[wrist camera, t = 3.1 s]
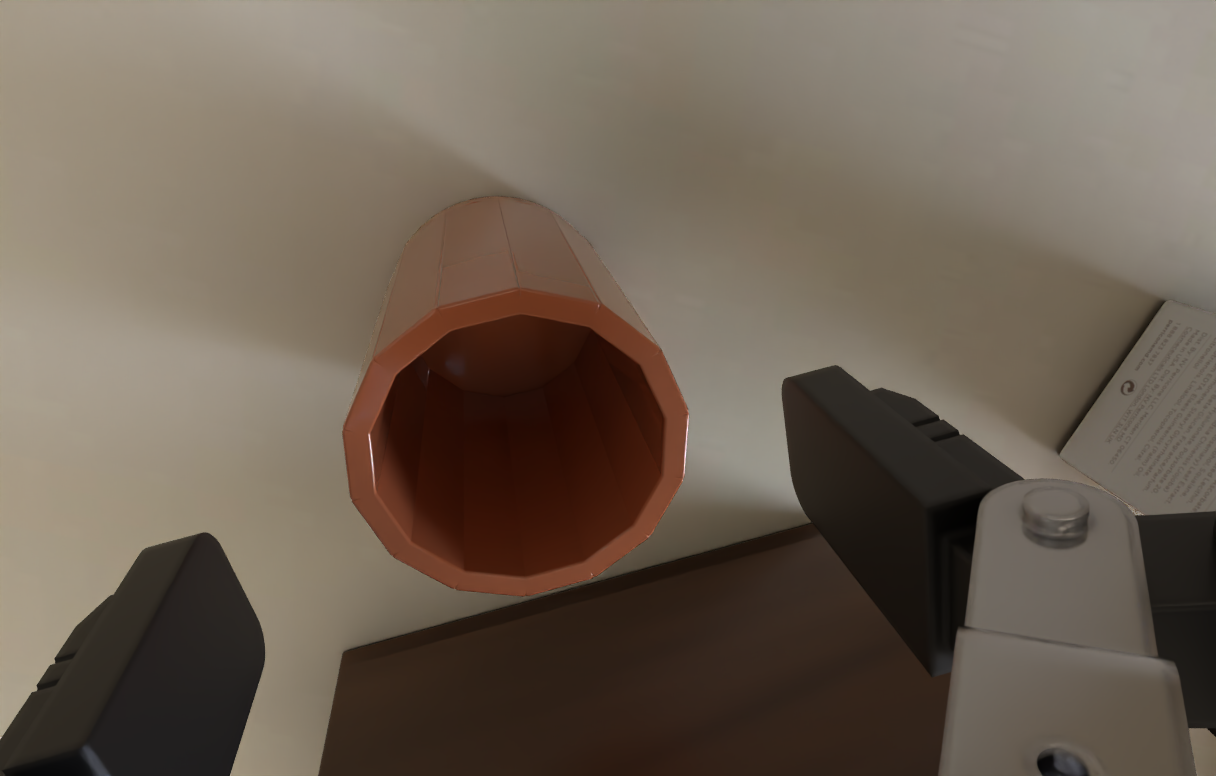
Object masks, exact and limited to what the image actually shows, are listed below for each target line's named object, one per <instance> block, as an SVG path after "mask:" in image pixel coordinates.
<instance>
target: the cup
mask: <svg viewBox="0 0 1216 776" xmlns="http://www.w3.org/2000/svg"><path fill="white" fill-rule="evenodd" d="M688 424H689V413H688V407H687V405H686V403H685V401H684V398H683V396H682V394H681V392H680V389H679V387H678V385H677V383H676V381H675V378H674V376H673V374H672V372H671V369H670V367H669V365H668V363H667V361H666V358H665V356H664V354H663V352H662V350H661V349H660V347H659V346H658V344H657V343H656V341H655V340H654V338H653V337H652V335H651V334H650V332H649V331H648V329H647V328H646V326H645V325H644V323H643V322H642V320H641V319H640V317H639V316H638V314H637V313H636V311H635V310H634V308H633V307H632V305H631V304H630V302H629V301H628V299H627V298H626V296H625V295H624V293H623V292H622V290H621V289H620V287H619V286H618V284H617V283H616V281H615V280H614V278H613V277H612V275H611V274H610V272H609V271H608V269H607V268H606V266H605V265H604V263H603V262H602V260H601V259H600V257H599V256H598V254H597V253H596V251H595V250H594V248H593V247H592V245H591V244H590V243H589V242H588V240H587V239H586V238H585V237H583V236H582V235H581V234H580V233H579V232H578V231H577V230H576V229H575V228H574V227H573V226H572V225H571V224H570V223H569V222H568V221H566V220H565V219H564V218H562V217H561V216H559V215H558V214H557V213H555V212H553V211H551V210H550V209H548V208H546V207H544V206H542V205H539V204H536V203H534V202H531V201H527V200H523V199H519V198H514V197H504V196H492V197H481V198H475V199H470V200H467V201H464V202H460V203H457V204H455V205H453V206H451V207H449V208H446V209H444V210H443V211H441V212H440V213H438V214H436V215H435V216H433V217H432V218H431V219H429V220H428V221H427V222H426V223H425V224H424V225H422V226H421V227H420V228H419V229H418V231H417V232H416V233H415V234H414V235H413V236H412V237H411V239H410V240H409V241H408V242H407V244H406V245H405V247H404V249H403V251H402V253H401V255H400V258H399V260H398V262H397V265H396V268H395V270H394V273H393V275H392V278H391V280H390V282H389V285H388V287H387V290H386V293H385V296H384V300H383V303H382V306H381V309H380V312H379V315H378V318H377V321H376V324H375V328H374V331H373V334H372V337H371V340H370V343H369V346H368V349H367V353H366V356H365V359H364V362H363V365H362V368H361V371H360V374H359V377H358V381H357V384H356V387H355V390H354V393H353V396H352V399H351V402H350V406H349V409H348V412H347V415H346V418H345V421H344V424H343V431H342V436H343V444H344V452H345V460H346V469H347V477H348V485H349V493H350V498H351V499H352V503H353V504H354V505H355V507H356V508H357V510H358V511H359V512H360V514H361V515H362V516H363V518H364V519H365V521H366V522H367V523H368V525H369V526H370V527H371V529H372V530H373V531H374V533H375V534H376V536H377V537H378V538H379V540H380V541H381V542H382V544H383V545H384V546H385V548H386V549H387V551H388V552H389V553H390V555H393V557H394V558H395V559H397V560H399V561H401V562H403V563H405V564H407V565H408V566H410V567H412V568H414V569H416V570H418V571H420V572H422V573H424V574H425V575H427V576H429V577H431V578H433V579H435V580H437V581H439V582H440V583H442V584H444V585H446V586H448V587H450V588H452V589H454V588H455V589H456V590H460V591H471V592H481V593H492V594H502V595H512V596H525V595H526V596H530V595H534V594H538V593H541V592H545V591H549V590H552V589H556V588H560V587H563V586H567V585H571V584H574V583H578V582H581V581H585V580H589V579H592V578H593V576H594V577H596V576H598V575H599V574H600V573H602V572H603V571H604V570H606V569H607V568H608V567H610V566H611V565H613V564H614V563H615V562H617V561H618V560H619V559H621V558H622V557H623V556H625V555H626V554H627V553H629V552H630V551H632V550H633V549H634V548H636V547H637V546H638V545H640V544H641V543H642V542H644V541H645V540H646V539H648V538H649V536H650V535H651V534H652V533H653V531H654V529H655V528H656V526H657V524H658V522H659V521H660V519H661V517H662V516H663V514H664V512H665V511H666V509H667V507H668V505H669V504H670V502H671V500H672V499H673V497H674V495H675V494H676V492H677V490H678V489H679V487H680V485H681V483H682V482H683V478H684V476H685V464H686V451H687V438H688Z"/></svg>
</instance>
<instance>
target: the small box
mask: <svg viewBox="0 0 1216 776" xmlns="http://www.w3.org/2000/svg"><path fill="white" fill-rule="evenodd" d="M1059 456H1060V458H1061V459H1062V460H1063V461H1065V462H1066V463H1068V464H1069V465H1071V466H1072V467H1074V468H1075V469H1077V470H1078V471H1080V472H1081V473H1083V474H1084V475H1086V476H1087V477H1089V478H1090V479H1092V480H1093V481H1095V482H1096V483H1098V484H1099V485H1101V486H1102V487H1103V488H1105V489H1106V490H1108V491H1109V492H1111V493H1112V494H1114V495H1115V496H1117V497H1119V498H1120V499H1122V500H1123V501H1125V502H1126V503H1128V504H1129V505H1131V506H1132V507H1134V508H1135V509H1137V510H1138V511H1140V512H1141V513H1143V514H1144V515H1160V514H1176V513H1193V512H1209V511H1216V314H1214V313H1211V312H1208V311H1205V310H1202V309H1198V308H1195V307H1192V306H1189V305H1186V304H1183V303H1180V302H1177V301H1173V300H1168V301H1166V302H1165V303H1164V304H1163V305H1162V307H1161V308H1160V310H1159V311H1158V312H1157V314H1156V315H1155V317H1154V318H1153V320H1152V321H1151V323H1150V324H1149V326H1148V327H1147V328H1146V330H1145V331H1144V333H1143V334H1142V336H1141V337H1140V338H1139V340H1138V341H1137V343H1136V344H1135V346H1134V347H1133V349H1132V350H1131V351H1130V353H1129V354H1128V356H1127V357H1126V359H1125V360H1124V361H1123V363H1122V364H1121V366H1120V367H1119V369H1118V370H1117V372H1116V373H1115V375H1114V376H1113V378H1112V379H1111V380H1110V382H1109V383H1108V385H1107V386H1106V387H1105V389H1104V390H1103V392H1102V393H1101V395H1100V396H1099V398H1098V399H1097V400H1096V402H1095V403H1094V405H1093V406H1092V407H1091V409H1090V410H1089V412H1088V413H1087V415H1086V416H1085V418H1084V419H1083V420H1082V422H1081V423H1080V425H1079V426H1078V428H1077V429H1076V431H1075V432H1074V434H1073V435H1072V436H1071V438H1070V439H1069V441H1068V442H1067V444H1066V445H1065V446H1064V448H1063V449H1062V451H1061V453H1060V455H1059Z"/></svg>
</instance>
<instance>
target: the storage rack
mask: <svg viewBox="0 0 1216 776" xmlns="http://www.w3.org/2000/svg"><path fill="white" fill-rule="evenodd" d="M950 679H951V672H949V673H946V674H942V675H939V676H936V677H933V678H932V677H931V676H930V674H929V673H928V672H927V671H926V669H925V668H924V667H923V665H922V664H921V663H920V661H919V660H918V659H917V658H916V656H915V655H914V654H913V652H912V651H911V650H910V649H909V647H908V646H907V645H906V643H905V642H904V641H903V640H902V638H901V637H900V636H899V634H898V633H897V632H896V630H895V629H894V628H893V627H892V625H891V624H890V623H889V621H888V620H887V619H886V618H885V616H884V615H883V614H882V612H881V611H880V610H879V608H878V607H877V606H876V605H875V603H874V602H873V601H872V599H871V598H870V597H869V596H868V594H867V593H866V592H865V590H864V589H863V588H862V586H861V585H860V584H859V583H858V581H857V580H856V579H855V577H854V576H853V575H852V574H851V572H850V571H849V570H848V568H847V567H846V566H845V564H844V563H843V562H842V561H841V559H840V558H839V557H838V555H837V554H836V553H835V552H834V550H833V549H832V548H831V546H830V545H829V544H828V542H827V541H826V540H825V539H824V537H823V536H822V535H821V533H820V532H819V531H818V530H817V528H816V527H815V526H814V524H813V523H812V524H809V525H805V526H801V527H798V528H794V529H790V530H787V531H783V532H779V533H776V534H772V535H769V536H765V537H761V538H758V539H754V540H750V541H747V542H743V543H739V544H736V545H732V546H728V547H725V548H721V549H718V550H714V551H710V552H707V553H703V554H699V555H696V556H692V557H688V558H685V559H681V560H677V561H674V562H670V563H667V564H663V565H659V566H656V567H652V568H648V569H645V570H641V571H637V572H634V573H630V574H626V575H623V576H619V577H616V578H612V579H608V580H605V581H601V582H597V583H594V584H590V585H586V586H583V587H579V588H575V589H572V590H568V591H565V592H561V593H557V594H554V595H550V596H546V597H543V598H539V599H535V600H532V601H528V602H524V603H521V604H517V605H514V606H510V607H506V608H503V609H499V610H495V611H492V612H488V613H484V614H481V615H477V616H473V617H470V618H466V619H463V620H459V621H455V622H452V623H448V624H444V625H441V626H437V627H433V628H430V629H426V630H422V631H419V632H415V633H412V634H408V635H404V636H401V637H397V638H393V639H390V640H386V641H382V642H379V643H375V644H371V645H368V646H364V647H361V648H357V649H353V650H350V651H346V652H344V653H343V654H342V659H341V664H340V669H339V674H338V679H337V684H336V689H335V694H334V699H333V704H332V709H331V714H330V719H329V724H328V729H327V734H326V739H325V744H324V749H323V754H322V759H321V764H320V769H319V774H318V776H938V772H939V765H940V757H941V749H942V741H943V734H944V726H945V718H946V710H947V703H948V695H949V687H950Z"/></svg>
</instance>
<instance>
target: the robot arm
mask: <svg viewBox="0 0 1216 776" xmlns="http://www.w3.org/2000/svg"><path fill="white" fill-rule="evenodd" d="M782 402H783V411H784V419H785V428H786V436H787V445H788V454H789V462H790V471H791V477H792V482H793V485H794V489H795V492H796V495H797V498H798V500H799V502H800V505H801V507H802V509H803V510H804V512H805V514H806V515H807V517H808V518H809V519H810V520H811V522H812V523H813V524H814V526H815V527H816V528H817V530H818V531H819V532H820V533H821V535H822V536H823V537H824V539H825V540H826V541H827V542H828V544H829V545H830V546H831V548H832V549H833V550H834V552H835V553H836V554H837V555H838V557H839V558H840V559H841V561H842V562H843V563H844V564H845V566H846V567H847V568H848V570H849V571H850V572H851V574H852V575H853V576H854V577H855V579H856V580H857V581H858V583H859V584H860V585H861V586H862V588H863V589H864V590H865V592H866V593H867V594H868V596H869V597H870V598H871V599H872V601H873V602H874V603H875V605H876V606H877V607H878V608H879V610H880V611H881V612H882V614H883V615H884V616H885V618H886V619H887V620H888V621H889V623H890V624H891V625H892V627H893V628H894V629H895V630H896V632H897V633H898V634H899V636H900V637H901V638H902V640H903V641H904V642H905V643H906V645H907V646H908V647H909V649H910V650H911V651H912V652H913V654H914V655H915V656H916V658H917V659H918V660H919V661H920V663H921V664H922V665H923V667H924V668H925V669H926V671H927V672H928V673H929V674H930V676H931V677H932V678H933V677H936V676H939V675H942V674H946V673H949V672H951V679H950V687H949V695H948V703H947V710H946V718H945V726H944V734H943V741H942V749H941V757H940V765H939V772H938V776H1197V774H1196V768H1195V763H1194V757H1193V751H1192V746H1191V740H1190V734H1189V728H1207V729H1208V730H1209V731H1210V732H1211V733H1212V734H1213V735H1214V736H1215V737H1216V511H1209V512H1193V513H1176V514H1160V515H1138V516H1134V514H1133V513H1132V511H1131V510H1130V509H1129V508H1128V507H1127V506H1126V505H1125V504H1124V503H1123V502H1121V501H1120V500H1119V499H1117V498H1116V497H1114V496H1112V495H1110V494H1108V493H1107V492H1105V491H1102V490H1100V489H1097V488H1095V487H1092V486H1089V485H1085V484H1082V483H1078V482H1073V481H1068V480H1060V479H1043V478H1040V479H1026V480H1025V479H1024V478H1022V477H1021V476H1019V475H1018V474H1017V473H1015V472H1014V471H1013V470H1011V469H1010V468H1009V467H1007V466H1006V465H1005V464H1003V463H1002V462H1000V461H999V460H998V459H996V458H995V457H994V456H992V455H991V454H990V453H988V452H987V451H985V450H984V449H983V448H981V447H980V446H979V445H977V444H976V443H975V442H973V441H972V440H971V439H969V438H968V437H966V436H965V435H964V434H963V435H960V434H959V432H958V430H957V429H956V428H954V427H953V426H952V425H950V424H949V423H947V422H946V421H945V420H940V419H939V416H938V415H937V414H935V413H934V412H932V411H931V410H930V409H928V408H927V407H926V406H924V405H923V404H922V403H920V402H919V401H918V400H916V399H914V398H911V397H908V396H905V395H902V394H899V393H896V392H893V391H890V390H886V389H883V388H879V389H875V390H872V391H870V390H868V389H867V388H866V387H865V386H863V385H862V384H861V383H859V382H858V381H857V380H856V379H854V378H853V377H852V376H851V375H849V374H848V373H847V372H846V371H844V370H843V369H842V368H841V367H839V366H836V365H834V366H830V367H826V368H822V369H818V370H815V371H811V372H807V373H803V374H800V375H796V376H792V377H788V378H786V379H784V381H783V384H782ZM264 662H265V643H264V636H263V632H262V628H261V625H260V622H259V620H258V618H257V616H256V614H255V612H254V610H253V608H252V606H251V604H250V602H249V600H248V598H247V596H246V594H245V592H244V590H243V588H242V586H241V584H240V582H239V580H238V578H237V576H236V574H235V572H234V570H233V569H232V567H231V565H230V563H229V561H228V559H227V557H226V555H225V553H224V551H223V549H222V547H221V545H220V543H219V542H218V541H217V539H216V538H215V537H214V536H212V535H211V534H209V533H204V532H203V533H199V534H196V535H192V536H188V537H184V538H181V539H177V540H173V541H169V542H166V543H162V544H158V545H155V546H151V547H148V548H145V549H144V550H142V552H141V553H140V554H139V556H138V557H137V559H136V560H135V562H134V564H133V565H132V567H131V568H130V570H129V571H128V573H127V575H126V576H125V578H124V579H123V581H122V582H121V584H120V586H119V587H118V589H117V590H116V592H115V593H114V595H110V596H109V597H108V598H107V599H106V600H105V601H104V602H102V603H101V604H100V605H99V606H98V607H97V608H96V609H95V610H94V611H93V612H91V613H90V614H89V615H88V616H87V617H86V618H85V619H84V620H83V621H82V622H80V623H79V624H78V625H77V626H76V627H75V629H74V630H73V632H72V633H71V635H70V636H69V638H68V639H67V641H66V642H65V644H64V645H63V647H62V648H61V650H60V651H59V653H58V654H57V656H56V657H55V664H52V665H50V666H49V668H48V669H47V671H46V672H45V674H44V675H43V677H42V678H41V680H40V681H39V683H38V684H37V688H38V689H37V691H35V692H32V693H31V695H30V696H29V698H28V699H27V701H26V702H25V703H24V705H23V706H22V708H21V709H20V711H19V712H18V714H17V715H16V717H15V718H14V720H13V721H12V723H11V724H10V726H9V727H8V729H7V730H6V732H5V733H4V735H3V736H2V738H1V739H0V776H230V773H231V770H232V767H233V764H234V760H235V757H236V754H237V751H238V748H239V744H240V741H241V738H242V735H243V732H244V729H245V725H246V722H247V719H248V716H249V713H250V709H251V706H252V703H253V700H254V697H255V693H256V690H257V687H258V684H259V681H260V678H261V674H262V671H263V668H264Z"/></svg>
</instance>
